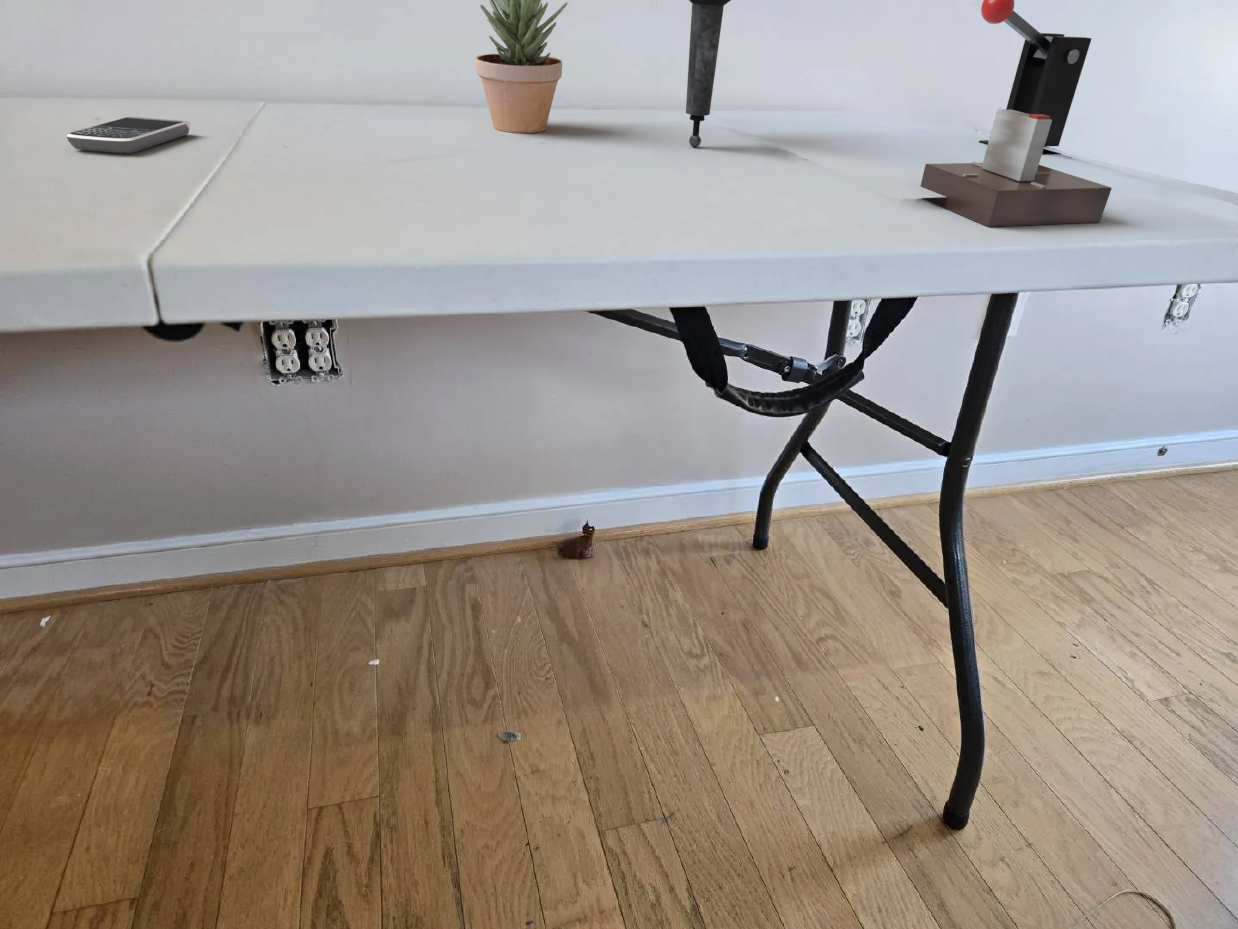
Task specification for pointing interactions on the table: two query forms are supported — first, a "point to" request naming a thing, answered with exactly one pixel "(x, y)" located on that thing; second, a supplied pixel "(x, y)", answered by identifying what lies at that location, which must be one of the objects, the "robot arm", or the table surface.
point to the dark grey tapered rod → (702, 60)
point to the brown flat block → (1015, 195)
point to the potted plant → (519, 67)
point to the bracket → (1049, 83)
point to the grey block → (1016, 144)
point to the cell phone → (128, 134)
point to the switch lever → (1016, 25)
